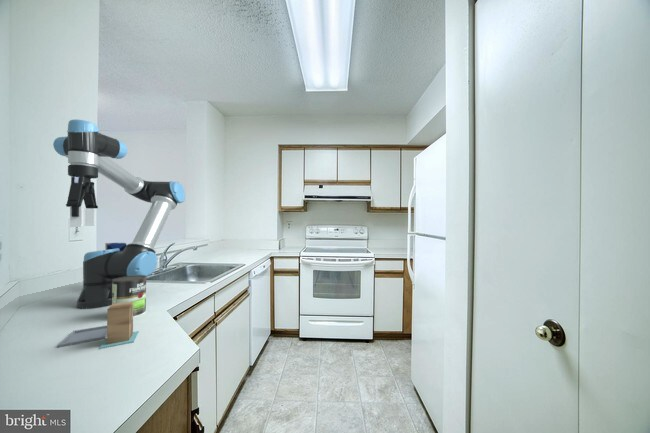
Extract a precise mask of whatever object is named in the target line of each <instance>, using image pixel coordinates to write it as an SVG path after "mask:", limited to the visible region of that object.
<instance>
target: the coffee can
mask: <svg viewBox="0 0 650 433" xmlns="http://www.w3.org/2000/svg"><path fill="white" fill-rule="evenodd" d="M147 278H148V276H144V275H134V276H125V277H119V278H116V279H113V280H112V304H116V303H124V302H131V301H133V319H134V318H137V317H140V316H142V315H144V314H145V313H146V312H147V311H146V310H147V307H146V306H147ZM112 304H111V305H112Z"/></svg>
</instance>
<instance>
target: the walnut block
mask: <svg viewBox="0 0 650 433" xmlns="http://www.w3.org/2000/svg"><path fill="white" fill-rule="evenodd" d="M106 314H107V315H106V317H107V318H106V320H107V322H106V326H107V337H106V338H107V345H108V344H113V343H118V342H124V341H129V340H130V338H131V336H132V334H133V332H134V318H133V301H131V302H124V303H116V304H111V305H109V306H108V308H107V312H106Z"/></svg>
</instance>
